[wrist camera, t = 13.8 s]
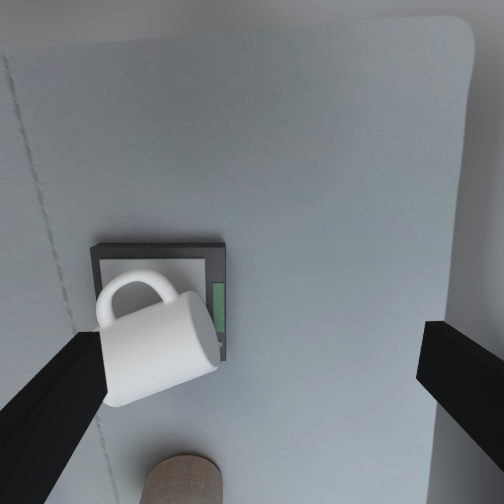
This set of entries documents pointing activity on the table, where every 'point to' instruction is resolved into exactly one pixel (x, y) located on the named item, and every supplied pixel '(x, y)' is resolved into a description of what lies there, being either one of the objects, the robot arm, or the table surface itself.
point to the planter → (183, 482)
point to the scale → (173, 268)
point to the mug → (154, 340)
